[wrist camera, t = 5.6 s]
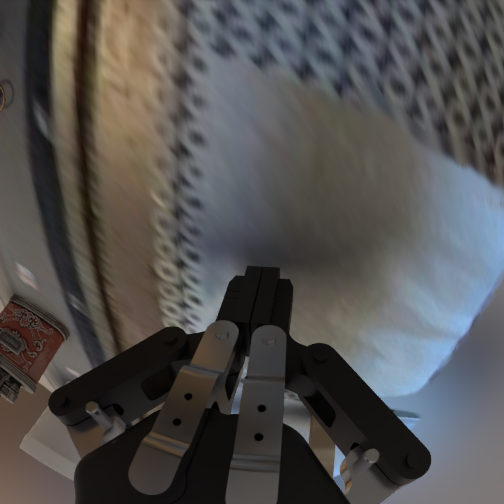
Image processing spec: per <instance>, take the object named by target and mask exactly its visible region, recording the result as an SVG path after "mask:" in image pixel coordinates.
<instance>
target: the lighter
mask: <svg viewBox="0 0 504 504" xmlns="http://www.w3.org/2000/svg"><path fill="white" fill-rule="evenodd" d="M69 335H70V332H69V330H68V328H67V327H66V326H65V325H64V324H63V323H62V322H61V321H60V320H58V319H57V318H55V317H54V316H52V315H51V314H49V313H48V312H46V311H45V310H43V309H42V308H40V307H39V306H37V305H35V304H34V303H32V302H30V301H28V300H26V299H25V298H22V297H20V296H18V295H16V294H14V295H13V296H12V297H11V298H10V299H9V303H8V305H7V306H6V307H5V308H4V310H3V311H2V312H1V313H0V397H1V396H3V397H4V398H5V399H7V400H8V401H9V402H11V403H12V404H14V402H15V401H16V399H17V397H18V393H19V389H20V387H21V388H23V389H25V390H26V391H28V392H30V393H31V394H33V393H34V392H35V390H36V388H37V386H36V384H37V383H38V381H39V379H40V378H41V376H42V374H43V373H44V371H45V369H46V368H47V366H48V364H49V363H50V361H51V360H52V358H53V356H54V355H55V353H56V352H57V350H58V349H59V347H60V345H61V344H62V342H65V341H66V340H67V338H68V336H69Z"/></svg>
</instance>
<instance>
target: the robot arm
mask: <svg viewBox="0 0 504 504" xmlns="http://www.w3.org/2000/svg"><path fill="white" fill-rule="evenodd" d="M292 301H293V285H292V283H291V281H290V279H280V268H277V267H261V266H247V269H246V272H245V276H238V275H236V276H235V277H234V278H233V279H232V280H231V281H230V282H229V285H228V287H227V291H226V293H225V296H224V299H223V302H222V305H221V307H220V310H219V313H218V316H217V319H216V321H215V322H214V323H212V324H210V325H209V326H208V327H207V329H206V331H204V332H200V333H194V334H186V333H185V331H184V330H183V329H181V328H179V327H173V326H172V327H166V328H164V329H162V330H160V331H159V332H157V333H155V334H153V335H152V336H150V337H148V338H147V339H145V340H143V341H141V342H140V343H138V344H136V345H134V346H133V347H131V348H129V349H127V350H126V351H124V352H122V353H121V354H119V355H117V356H115V357H114V358H112V359H110V360H108V361H107V362H105V363H103V364H101V365H99V366H98V367H96V368H94V369H92V370H91V371H89V372H87V373H85V374H84V375H82V376H80V377H78V378H76V379H75V380H73V381H71V382H69V383H67V384H66V385H64V386H62V387H60V388H58V389H57V390H55V391H54V392H53V393H52V394H51V396H50V398H49V402H48V406H49V409H50V411H51V412H52V413H53V414H54V415H55V416H56V417H57V418H58V419H59V420H60V421H61V422H62V423H63V424H64V425H65V426H66V428H67V430H68V432H69V434H70V437H71V439H72V441H73V443H74V445H75V447H76V449H77V451H78V454H79V456H80V458H81V460H80V461H79V463H78V464H77V466H76V469H75V472H74V485H75V495H76V497H75V499H76V500H75V504H380V503H381V502H382V501H384V500H385V499H386V498H387V497H389V496H390V495H391V494H392V493H394V492H395V491H396V490H398V489H400V488H402V487H404V486H406V485H407V484H409V483H411V482H413V481H414V480H416V479H418V478H420V477H421V476H423V475H424V474H425V473H426V472H427V471H428V469H429V467H430V465H431V455H430V452H429V451H428V449H427V448H426V447H425V446H424V445H423V444H422V443H421V442H420V440H419V439H418V438H417V437H416V436H415V435H414V434H413V433H412V432H411V431H410V430H409V429H408V428H407V427H406V426H405V425H404V423H403V422H402V421H401V420H400V419H399V418H398V417H397V416H396V415H395V414H394V413H393V412H392V411H391V410H390V409H389V407H388V406H387V405H386V404H385V403H384V402H383V401H382V400H381V399H380V398H379V397H378V396H377V395H376V394H375V392H374V391H373V390H372V389H371V388H370V387H369V386H368V385H367V384H366V383H365V382H364V381H363V380H362V379H361V377H360V376H359V375H358V374H357V373H356V372H355V371H354V370H353V369H352V368H351V367H350V366H349V365H348V363H347V362H346V361H345V360H344V359H343V358H342V357H341V356H340V355H339V354H338V353H337V352H336V351H335V349H333V348H332V347H331V346H329V345H327V344H324V343H315V344H312V345H309V346H308V347H307V346H304V345H302V344H299V343H297V342H296V341H294V340H293V339H292V338H291V336H290V334H289V331H290V323H291V314H292ZM246 356H247V357H249V362H248V369H247V376H246V377H245V378H244V383H243V390H242V397H241V404H240V411H239V414H231V406H232V402H233V399H234V396H235V393H236V390H237V387H238V384H239V382H240V379H241V376H242V373H243V365H244V361H245V357H246ZM285 389H287V390H290V391H292V392H295V393H297V394H298V397H299V398H300V400H301V401H302V402H303V404H304V405H305V406H306V407H307V409H308V410H309V411H310V413H311V414H312V415H313V417H314V418H315V419H316V420H317V422H318V423H319V424H320V425H321V427H322V428H323V429H324V431H325V432H326V433H327V434H328V436H329V437H330V438H331V439H332V441H333V442H334V443H335V444H336V445H337V447H338V448H339V449H340V450H341V452H342V453H343V454H344V455H345V457H346V458H345V459H344V460H343V462H342V463H341V466H340V474H341V476H342V478H343V480H344V483H345V490H344V493H343V492H342V491H341V490H340V488H339V487H338V486H337V484H336V483H335V481H334V480H333V479H332V477H331V476H330V475H329V473H328V472H327V470H326V469H325V468H324V466H323V465H322V463H321V462H320V460H319V459H318V458H317V456H316V455H315V453H314V452H313V450H312V449H311V448H310V446H309V445H308V443H307V442H306V440H305V439H304V438H303V437H302V436H301V435H300V433H298V432H297V431H296V430H295V429H293V428H292V427H290V426H288V425H286V424H284V423H283V410H284V391H285ZM164 401H165V402H164ZM163 402H164V405H163V407H162V409H160V410H158V411H156V412H154V413H152V414H151V415H149V416H148V417H146V418H145V419H143V420H142V421H140V422H139V423H137V424H135V425H134V426H132V427H131V428H129V429H128V430H126V431H125V425H127V424H128V423H130V422H132V421H133V420H135V419H137V418H138V417H140V416H142V415H143V414H145V413H147V412H148V411H150V410H152V409H153V408H155V407H156V406H158V405H160V404H161V403H163Z"/></svg>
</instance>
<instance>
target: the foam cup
mask: <svg viewBox="0 0 504 504" xmlns="http://www.w3.org/2000/svg"><path fill="white" fill-rule="evenodd" d="M69 382H71V381H67V382H66V384H67V383H69ZM66 384H65V385H66ZM20 448H21V449H23V450H24V451H25V452H27V453H28V454H30V455H31V456H33V457H34V458H36V459H37V460H39V461H40V462H42V463H43V464H45V465H47V466H48V467H50V468H52V469H53V470H55V471H57V472H59V473H60V474H62V475H64V476H66V477H67V478H69V479H71V480H73V481H74V472H75V469H76V466H77V464H78V463H79V461H80V460H81V458H80V456H79V454H78V451H77V449H76V447H75V445H74V443H73V441H72V439H71V437H70V434H69V432H68V430H67V428H66V426H65V425H64V424H63V423H62V422H61V421H60V420H59V419H58V418H57V417H56V416H55V415H54V414H53V413H52V412H51V411H50V409H49V406H48V407H47V408H46V410H45V411H44V412H43V414H42V415H41V416H40V418H39V419H38V420H37V422H36V423H35V425H34V426H33V427H32V429H31V430H30V432H29V433H28V434H26V435H25V437H24V439H23V441H22V443H21V445H20Z"/></svg>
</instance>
